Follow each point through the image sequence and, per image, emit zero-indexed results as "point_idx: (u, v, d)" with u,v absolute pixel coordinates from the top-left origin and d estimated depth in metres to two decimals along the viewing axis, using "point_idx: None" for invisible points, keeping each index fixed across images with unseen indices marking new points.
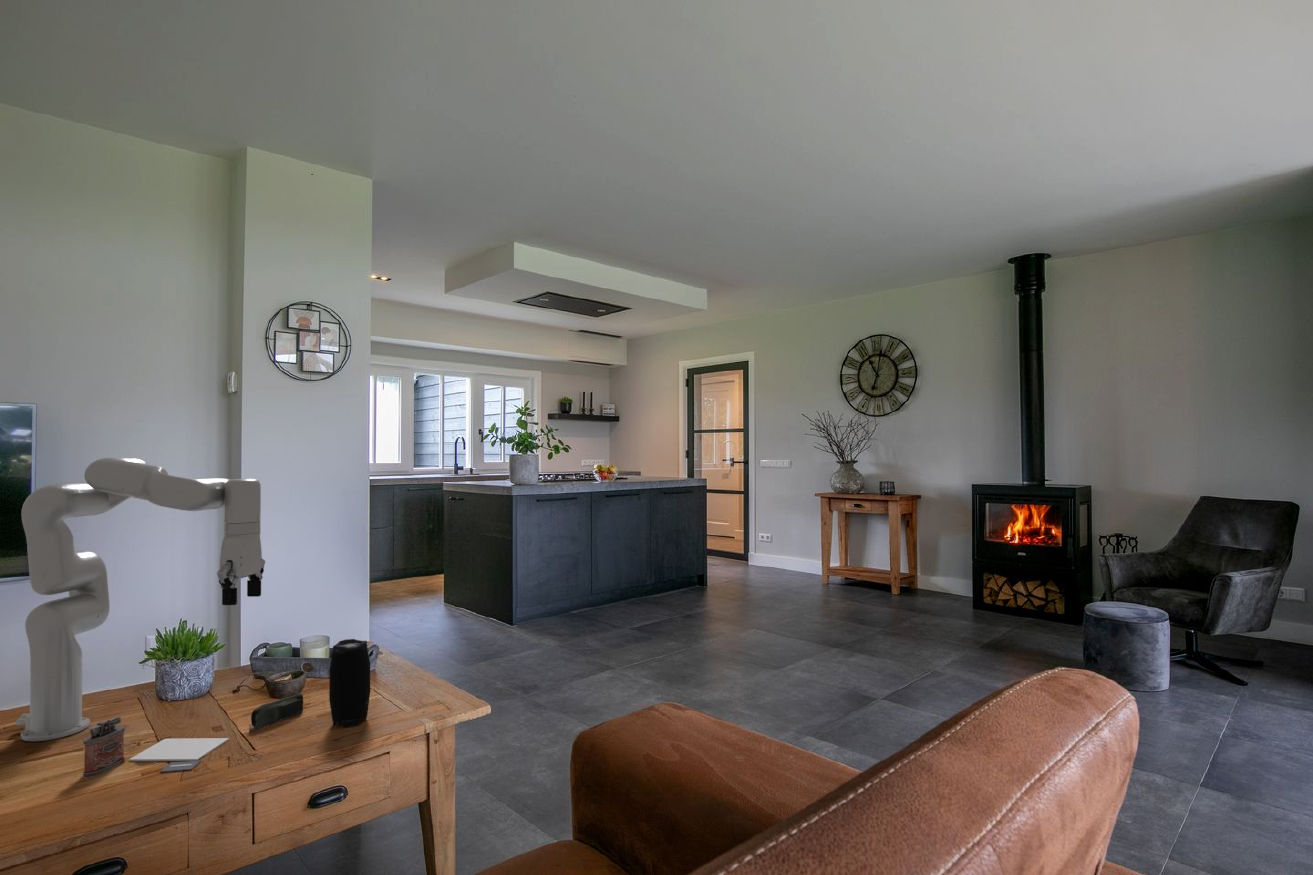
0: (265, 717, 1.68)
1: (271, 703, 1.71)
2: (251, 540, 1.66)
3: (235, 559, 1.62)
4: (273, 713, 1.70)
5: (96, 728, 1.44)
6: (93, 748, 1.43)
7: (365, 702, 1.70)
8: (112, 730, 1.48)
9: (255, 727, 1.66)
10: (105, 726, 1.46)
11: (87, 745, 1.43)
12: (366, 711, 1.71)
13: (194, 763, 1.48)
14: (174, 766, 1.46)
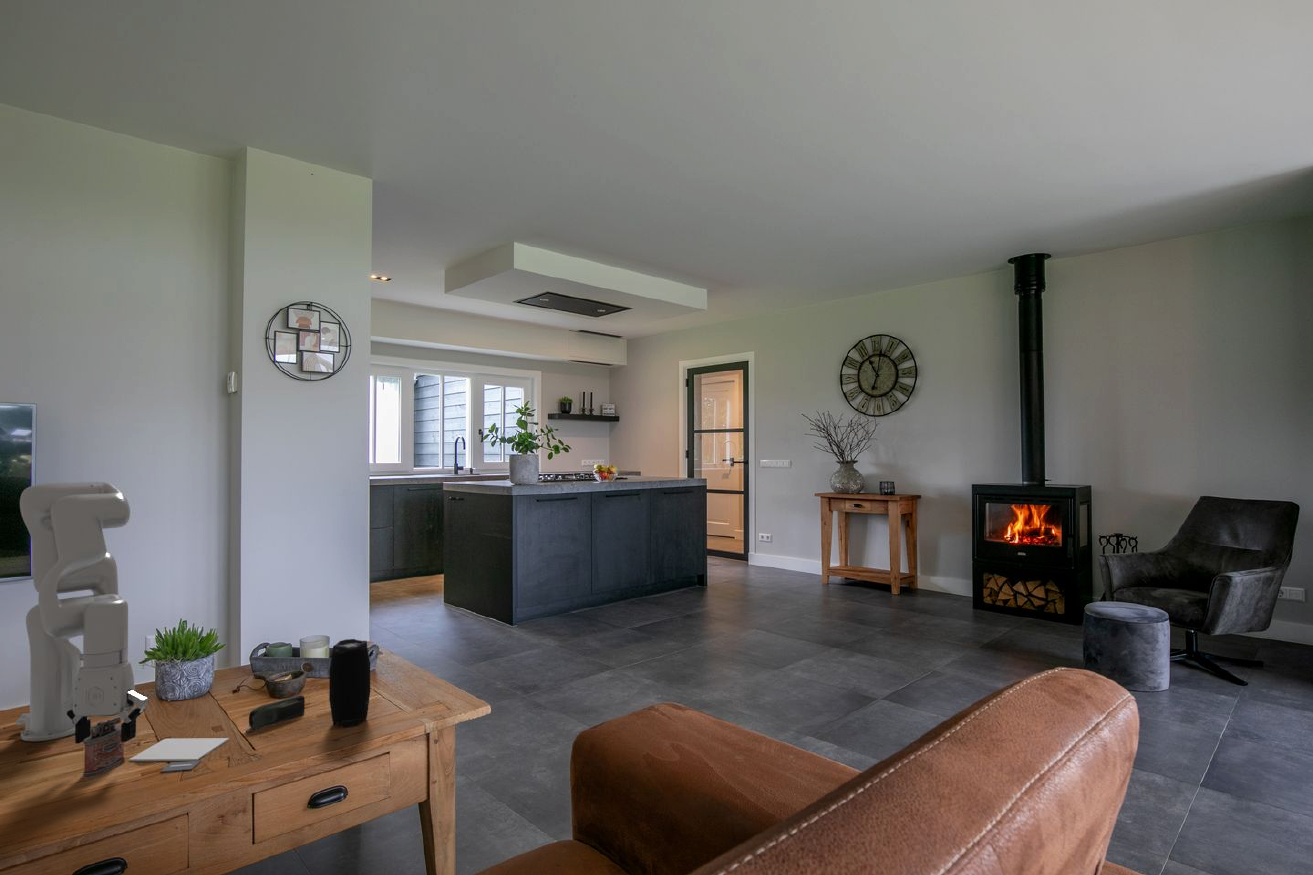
0: (263, 718, 1.67)
1: (270, 704, 1.70)
2: None
3: (133, 687, 1.48)
4: (271, 714, 1.69)
5: (96, 728, 1.44)
6: (93, 748, 1.43)
7: (365, 702, 1.70)
8: (112, 730, 1.48)
9: (252, 728, 1.65)
10: (105, 726, 1.46)
11: (87, 745, 1.43)
12: (366, 711, 1.71)
13: (194, 763, 1.48)
14: (174, 766, 1.46)
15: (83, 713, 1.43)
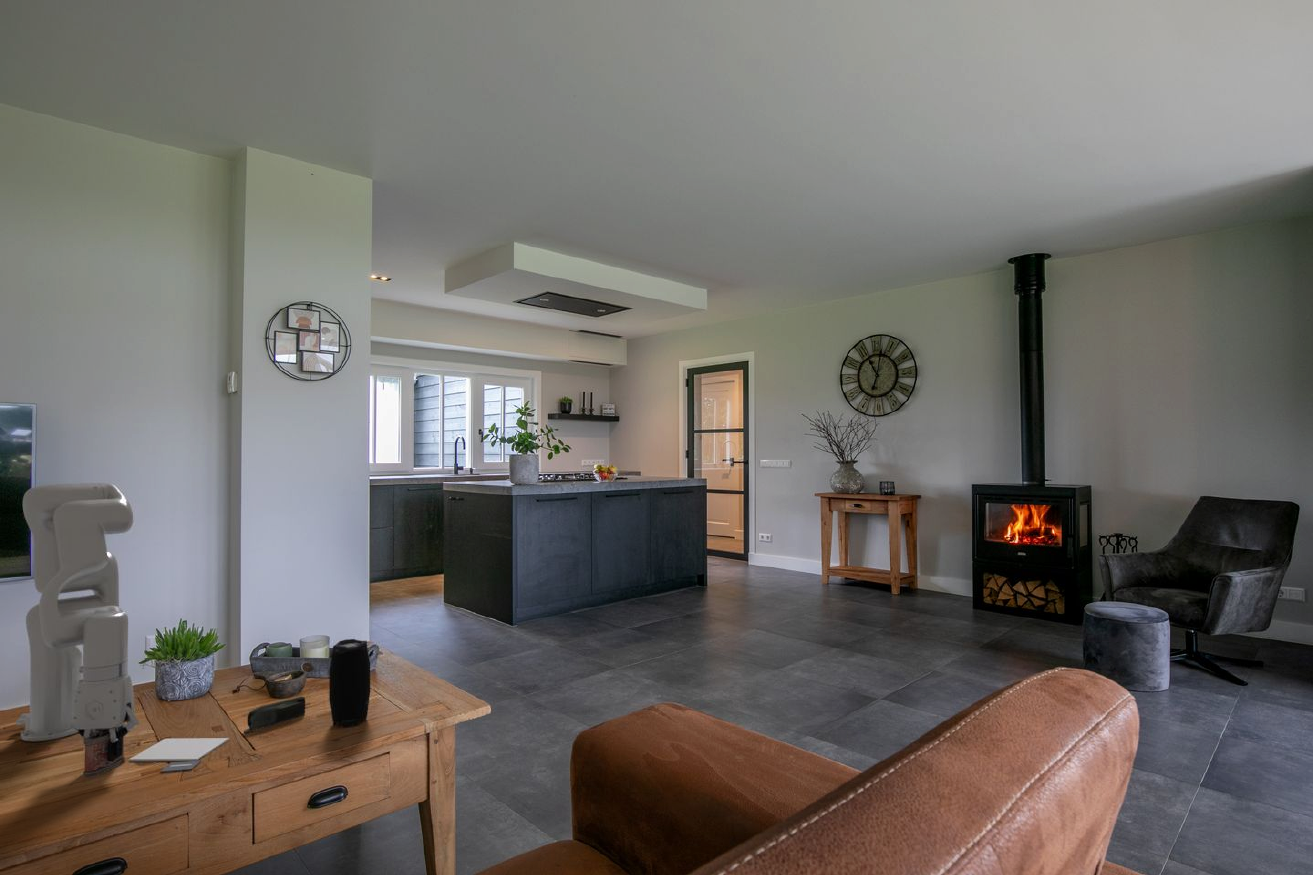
0: (261, 719, 1.67)
1: (269, 705, 1.70)
2: None
3: (132, 700, 1.48)
4: (269, 715, 1.68)
5: None
6: (93, 748, 1.43)
7: (365, 702, 1.70)
8: None
9: (250, 728, 1.65)
10: None
11: (87, 745, 1.43)
12: (366, 711, 1.71)
13: (194, 763, 1.48)
14: (174, 766, 1.46)
15: (82, 726, 1.44)
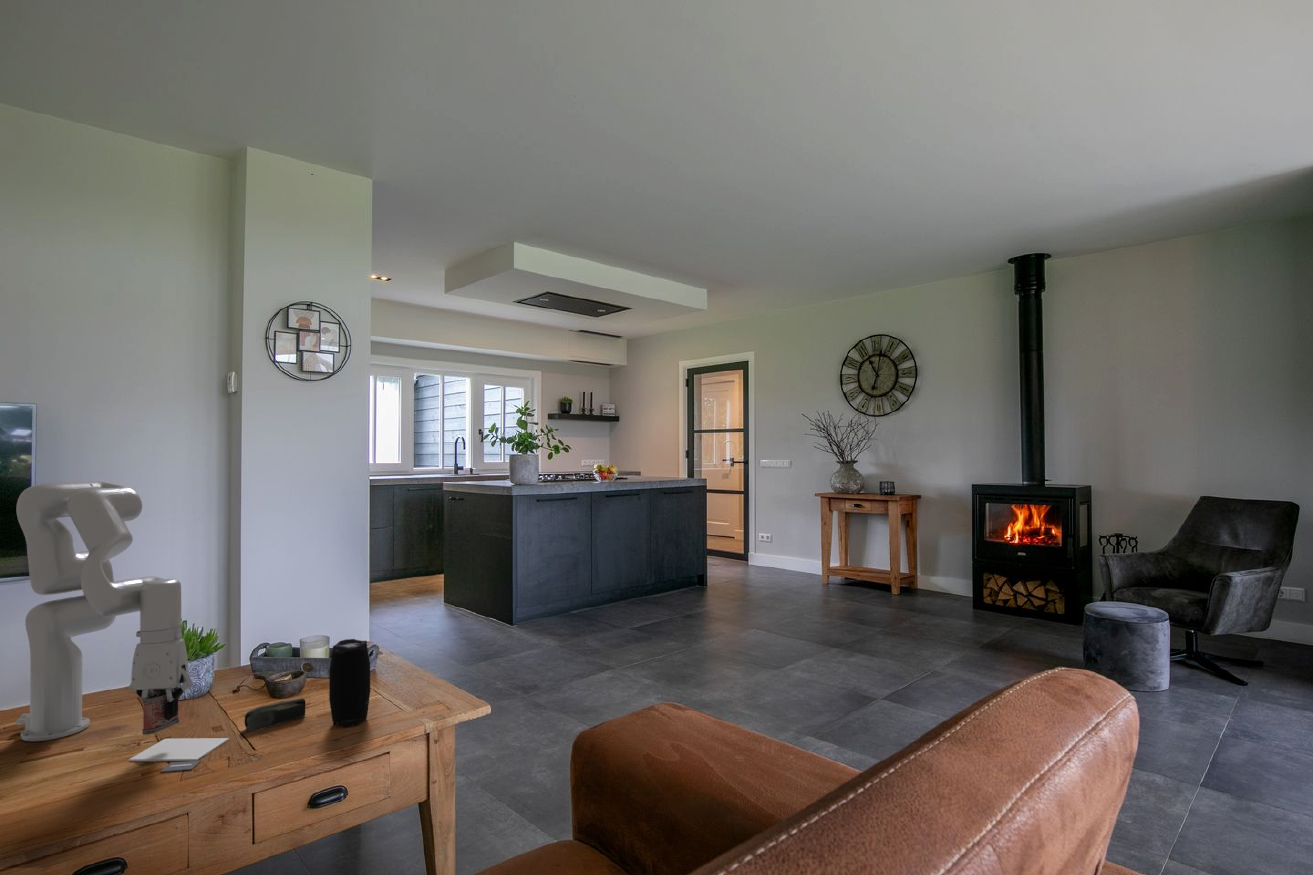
0: (258, 720, 1.66)
1: (267, 706, 1.69)
2: None
3: (186, 662, 1.56)
4: (266, 717, 1.67)
5: None
6: (152, 707, 1.51)
7: (365, 702, 1.70)
8: None
9: (246, 729, 1.65)
10: None
11: (146, 704, 1.50)
12: (366, 711, 1.71)
13: (194, 763, 1.48)
14: (174, 766, 1.46)
15: (141, 686, 1.52)
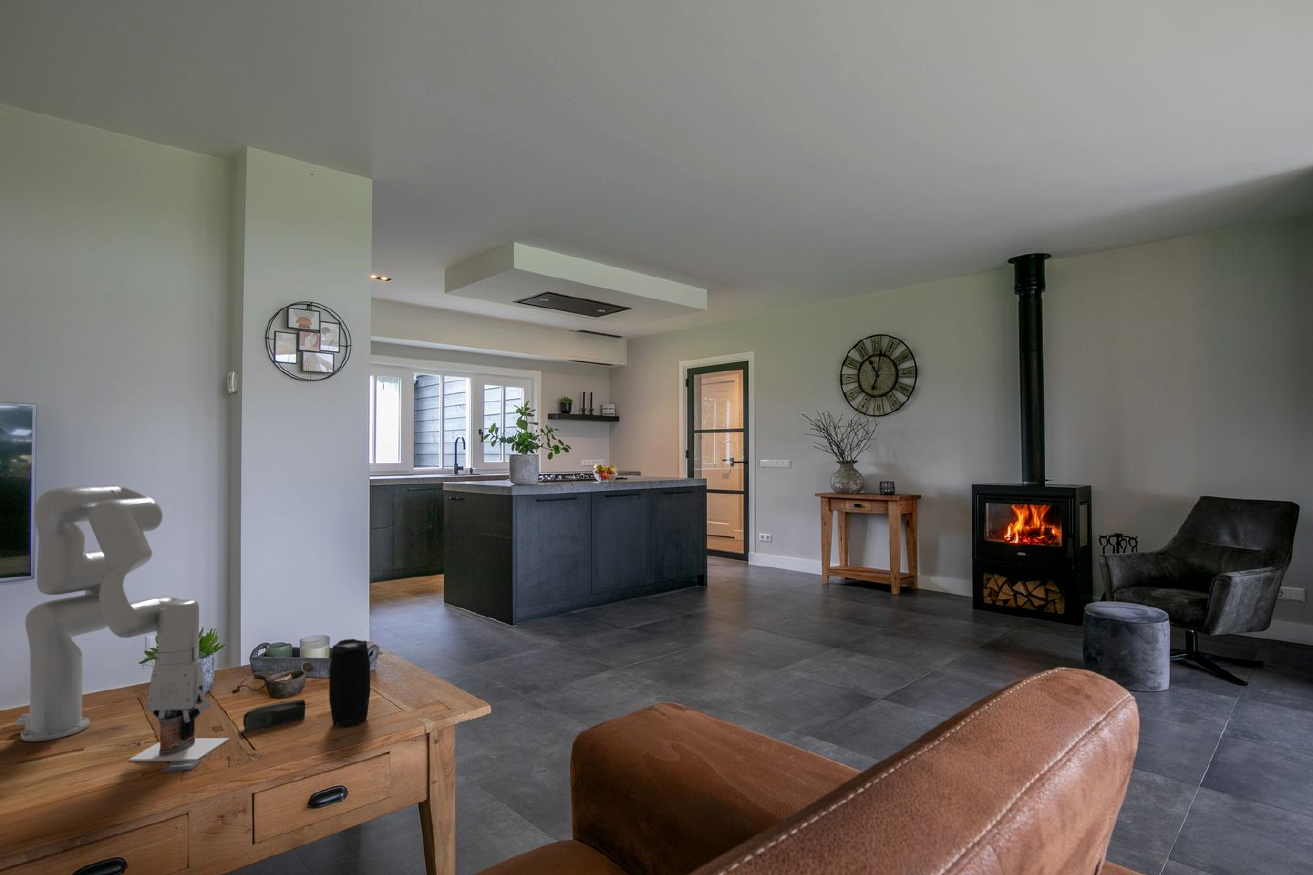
0: (256, 721, 1.66)
1: (266, 707, 1.68)
2: None
3: (203, 683, 1.56)
4: (265, 718, 1.67)
5: None
6: (169, 728, 1.51)
7: (365, 702, 1.70)
8: None
9: (244, 730, 1.64)
10: None
11: (163, 725, 1.51)
12: (366, 711, 1.71)
13: (194, 763, 1.48)
14: (174, 766, 1.46)
15: (158, 707, 1.52)
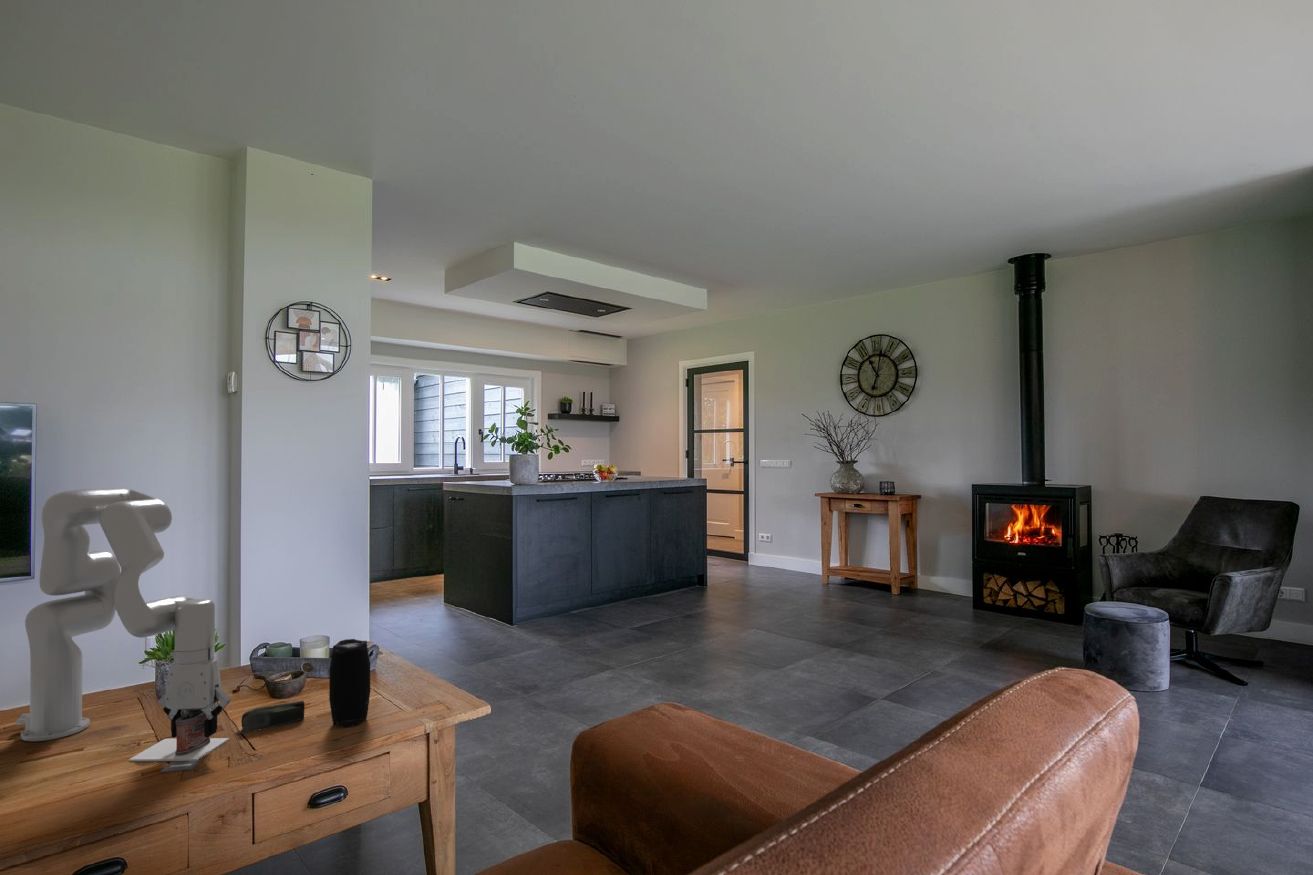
0: (254, 721, 1.65)
1: (264, 707, 1.68)
2: None
3: (219, 682, 1.57)
4: (262, 718, 1.66)
5: (187, 710, 1.53)
6: (185, 729, 1.52)
7: (365, 702, 1.70)
8: (199, 712, 1.56)
9: (242, 730, 1.64)
10: None
11: (179, 725, 1.51)
12: (366, 711, 1.71)
13: (194, 763, 1.48)
14: (174, 766, 1.46)
15: (175, 706, 1.53)
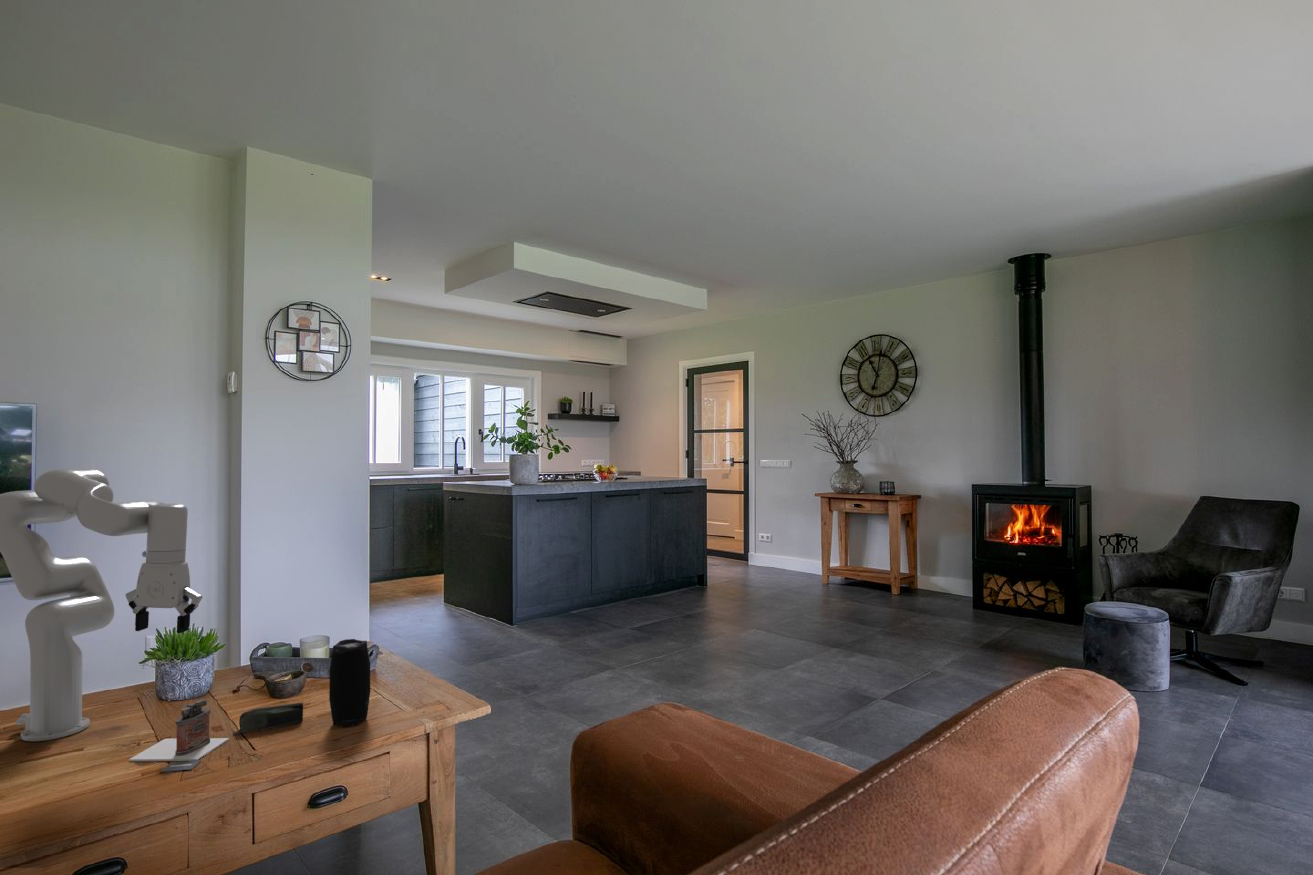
0: (251, 722, 1.65)
1: (262, 708, 1.67)
2: None
3: (189, 584, 1.62)
4: (260, 719, 1.66)
5: (187, 710, 1.53)
6: (185, 729, 1.52)
7: (365, 702, 1.70)
8: (199, 712, 1.56)
9: (239, 730, 1.64)
10: (194, 708, 1.55)
11: (179, 725, 1.51)
12: (366, 711, 1.71)
13: (194, 763, 1.48)
14: (174, 766, 1.46)
15: (144, 604, 1.58)
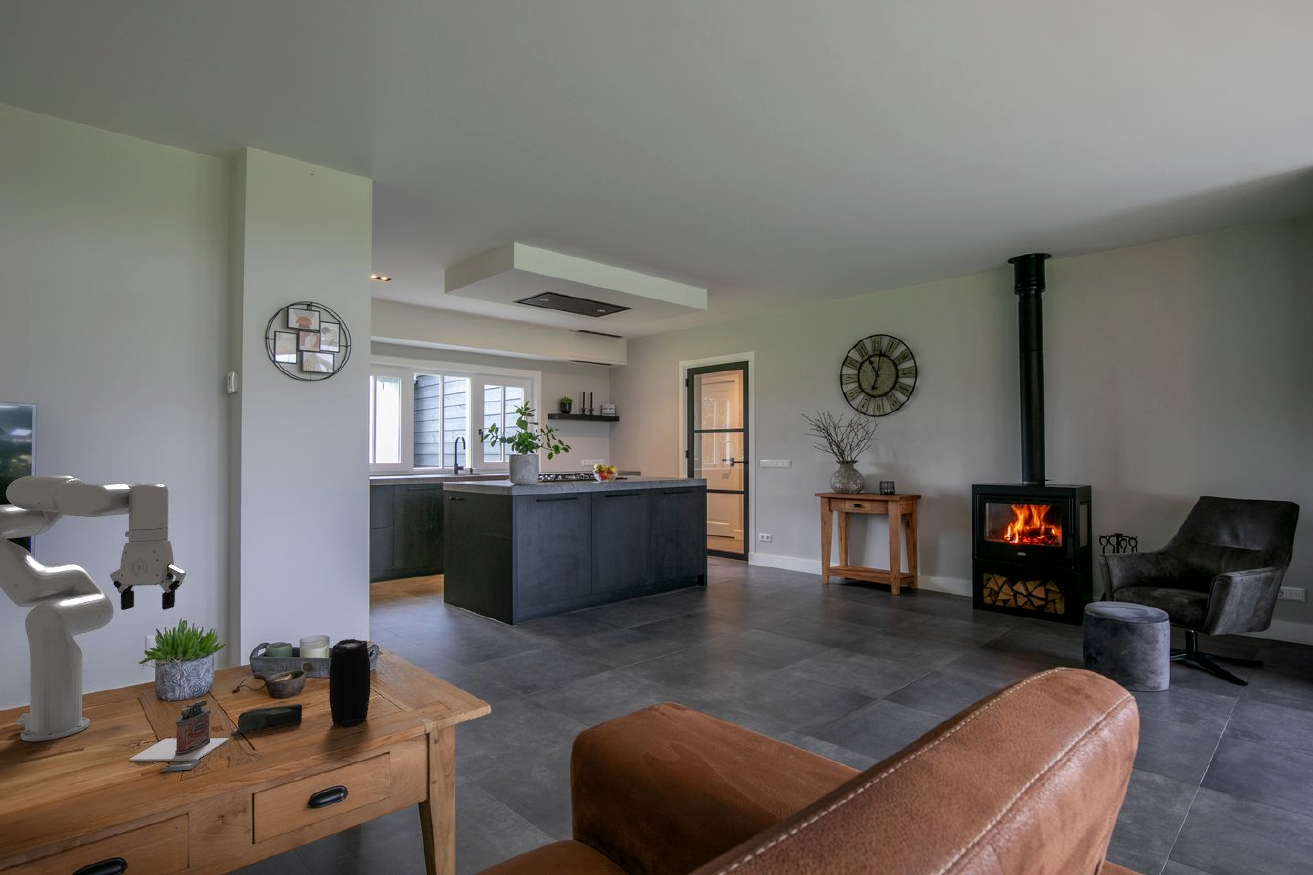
0: (249, 722, 1.65)
1: (260, 709, 1.67)
2: None
3: (172, 562, 1.64)
4: (258, 720, 1.65)
5: (187, 710, 1.53)
6: (185, 729, 1.52)
7: (365, 702, 1.70)
8: (199, 712, 1.56)
9: (237, 731, 1.64)
10: (194, 708, 1.55)
11: (179, 725, 1.51)
12: (366, 711, 1.71)
13: (194, 763, 1.48)
14: (174, 766, 1.46)
15: (128, 582, 1.60)
